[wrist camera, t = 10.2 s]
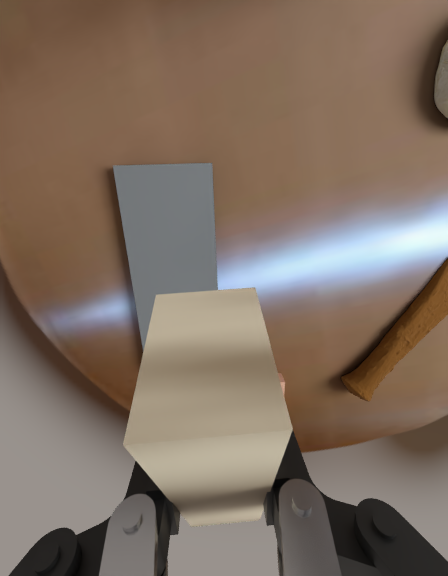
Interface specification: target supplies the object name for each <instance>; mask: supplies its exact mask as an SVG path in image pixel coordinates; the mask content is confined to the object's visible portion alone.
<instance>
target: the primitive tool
mask: <svg viewBox="0 0 448 576" xmlns="http://www.w3.org/2000/svg"><path fill="white" fill-rule="evenodd" d="M446 315H448V259H447V260H446V261H445V262H444V263H443V265H442V266H441V267H440V269H439V270H438V271H437V272H436V274H435V275H434V276H433V278H432V279H431V280H430V282H429V283H428V284H427V286H426V287H425V288H424V290H423V291H422V292H421V293H420V294H419V296H418V297H417V298H416V299H415V300H414V302H413V303H412V304H411V306H410V307H409V308H408V310H407V311H406V312H405V313H404V314H403V315H402V316H401V317H400V319H399V320H398V321H397V322H396V323H395V325H394V326H393V327H392V328H391V329H390V331H389V332H388V333H387V334H386V335H385V337H384V338H383V339H382V340H381V342H380V344H379V345H378V346H377V347H376V348H375V349H374V350H373V352H372V353H371V354H370V355H369V356H368V357H367V358H366V359H365V360H364V361H363V362H362V363H361V365H360V366H359V367H358V368H357V369H355V370H354V371H352V372H351V373H350V374H346V375H344V376H342V377H341V379H342V381H343V383H344V384H345V386H346V387H347V389H348V390H349V392H350V393H353V395H355V396H358V397H360V399H363V400H366V401H370V400H371V398H372V395H373V392H374V390H375V389H376V388H377V387H378V385H379V383H380V382H381V381H382V380H383V379H384V378H385V376H386V375H387V374H388V373H390V372H391V371H392V370H393V368H394V366H395V365H396V364H397V363H398V361H399V360H401V359H402V358H403V357H404V356H405V355H406V354H407V353H408V352H409V351H410V350H412V349H413V348H414V347H415V346H416V344H417V343H418V342H419V341H420V340H421V339H422V338H424V337H425V336H426V335H427V334H428V333H429V332H430V330H431V329H432V328H434V327H435V326H436V325H437V324H438V323H439V322H440V321H441V320H443V319H444V318H445V316H446Z"/></svg>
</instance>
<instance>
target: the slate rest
mask: <svg viewBox="0 0 448 576" xmlns="http://www.w3.org/2000/svg"><path fill="white" fill-rule="evenodd" d="M113 170H114V176H115V182H116V188H117V194H118V201H119V207H120V213H121V219H122V225H123V231H124V237H125V243H126V249H127V255H128V261H129V268H130V274H131V280H132V286H133V292H134V298H135V304H136V310H137V316H138V322H139V329H140V335H141V341H142V347H143V352H144V347H145V343H146V338H147V334H148V329H149V324H150V320H151V315H152V311H153V306H154V302H155V297H156V295H158V294H172V293H186V292H200V291H214V290H218V287H217V264H216V241H215V218H214V196H213V173H212V163H194V164H158V165H122V166H113Z"/></svg>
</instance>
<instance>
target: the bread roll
mask: <svg viewBox="0 0 448 576" xmlns="http://www.w3.org/2000/svg"><path fill="white" fill-rule="evenodd" d="M434 99H435V104H436V106H437V108H438V109H439V111H440V112H441V113H442V114H444V116H445V117H446V118H448V40H447V42H446V44H445V45H444V47H443V49H442V53H441V57H440V61H439V66H438V69H437V72H436V77H435V92H434Z"/></svg>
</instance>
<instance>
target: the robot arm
mask: <svg viewBox="0 0 448 576" xmlns="http://www.w3.org/2000/svg"><path fill="white" fill-rule="evenodd" d="M263 506H264V512H265V518H266V523H267V526H268V525H274V528H275V533H276V538H277V554H278V570H279V576H448V561H446V560H445V559H444V557H443V556H442V555H441V554H440V553H438V551H437V550H435V548H434V547H433V546H431V545H430V543H429V542H428V541H427V540H426V539H425V538H424V537H422V535H421V534H420V533H419V532H418V531H417V530H416V529H415V528H414V527H413V526H412V525H410V524H409V522H407V520H405V519H404V518H403V517H402V516H401V515H400V514H399V513H398V512H397V511H396V510H395V509H394V508H393V507H391V506H390V505H389V504H387V503H385V502H383V501H380V500H378V499H372V498H370V499H365V500H363V501H361V502H360V503H359V504H358V506H354V505H350V504H346V503H343V502H340V501H336V500H333V499H331V498H329V497H327V496H326V495H324V494H323V493H322V492H321V491H320V490H319V489H318V488H317V487H316V486H315V485H314V484H313V482H312V480H311V478H310V476H309V473H308V471H307V468H306V465H305V462H304V460H303V457H302V454H301V451H300V448H299V446H298V443H297V440H296V437H295V435H294V432H293V430H292V433H291V436H290V439H289V441H288V444H287V447H286V450H285V452H284V455H283V458H282V461H281V463H280V466H279V469H278V472H277V474H276V477H275V480H274V482H273V485H272V488H271V491H270V492H267V494H266V497H265V500H264V503H263ZM179 521H180V511H179V510H178V509H177V508H176V506H175V505H174V504H173V503H172V502H170V501H169V499H168V498H167V497H166V496H165V495H164V493H163V492H162V491H161V490H160V489H159V488H158V486H157V485H156V484H155V483H154V482H153V480H152V479H151V478H150V477H149V476H148V474H147V473H146V472H145V471H144V470H143V468H142V467H141V466H140V465H139V464H138V462H137V461H136V462H135V465H134V469H133V472H132V476H131V479H130V483H129V486H128V490H127V493H126V496H125V498H124V500H123V501H122V502H121V503H120V504H119V505H118V506H117V508H116V509H115V511H114V512H113V514H112V516H111V517H109V518H108V519H107V520H105V521H104V522H102V523H100V524H99V525H96V526H94V527H92V528H90V529H88V530H86V531H84V532H82V533H80V534H78V535H75V533H74V532H73V531H72V530H71V529H68V528H59V529H56V530H53V531H51V532H50V533H48V534H46V535H45V536H43V537H42V538H41V539H40V540H39V541H38V542H37V543H36V544H35V545H34V546H33V547H32V548H31V549H30V550H29V552H28V553H27V554H26V555H25V556H24V558H23V559H22V560H21V561H20V563H19V564H18V565H17V566H16V567H15V569H14V570H13V571H12V572H11V574H10V575H9V576H168V560H167V556H168V548H169V540H170V535H175V534H178V531H179Z"/></svg>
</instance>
